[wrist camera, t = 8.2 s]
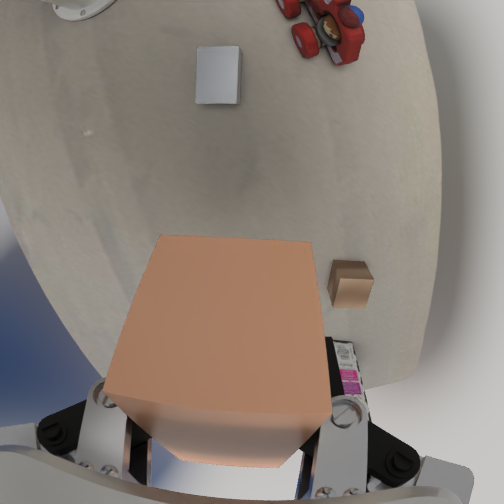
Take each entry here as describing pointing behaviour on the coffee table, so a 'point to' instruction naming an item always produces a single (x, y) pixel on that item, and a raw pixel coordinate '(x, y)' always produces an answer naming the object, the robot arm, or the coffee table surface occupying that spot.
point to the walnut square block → (349, 284)
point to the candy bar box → (350, 372)
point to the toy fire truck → (328, 28)
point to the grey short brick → (218, 75)
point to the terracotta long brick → (225, 351)
